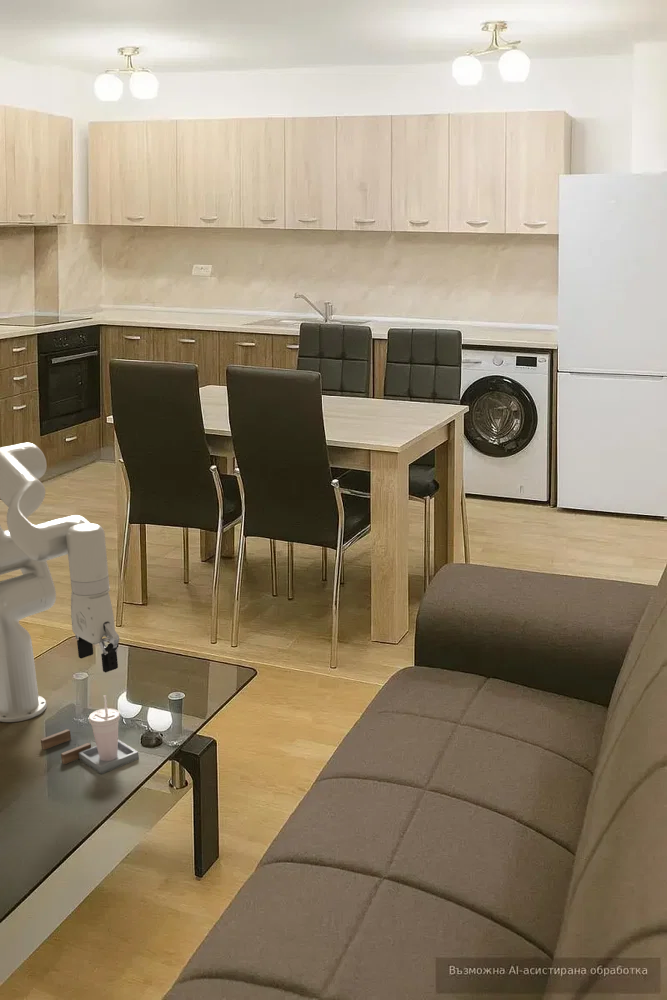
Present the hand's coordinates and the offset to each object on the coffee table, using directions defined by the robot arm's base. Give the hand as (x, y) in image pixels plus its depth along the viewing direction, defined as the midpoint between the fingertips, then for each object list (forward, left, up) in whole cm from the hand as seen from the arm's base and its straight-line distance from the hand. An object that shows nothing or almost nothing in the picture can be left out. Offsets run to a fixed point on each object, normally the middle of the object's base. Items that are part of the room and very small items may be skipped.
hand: (98, 663), depth 227 cm
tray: (0, 0, -22) cm, 22 cm away
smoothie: (0, 0, -22) cm, 22 cm away
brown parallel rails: (-10, -5, -22) cm, 24 cm away
